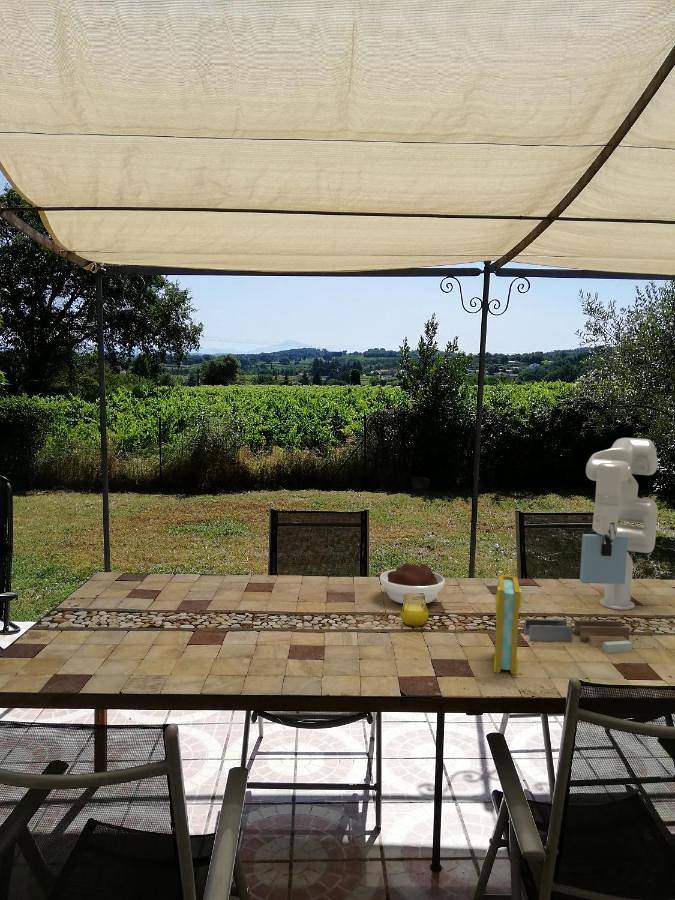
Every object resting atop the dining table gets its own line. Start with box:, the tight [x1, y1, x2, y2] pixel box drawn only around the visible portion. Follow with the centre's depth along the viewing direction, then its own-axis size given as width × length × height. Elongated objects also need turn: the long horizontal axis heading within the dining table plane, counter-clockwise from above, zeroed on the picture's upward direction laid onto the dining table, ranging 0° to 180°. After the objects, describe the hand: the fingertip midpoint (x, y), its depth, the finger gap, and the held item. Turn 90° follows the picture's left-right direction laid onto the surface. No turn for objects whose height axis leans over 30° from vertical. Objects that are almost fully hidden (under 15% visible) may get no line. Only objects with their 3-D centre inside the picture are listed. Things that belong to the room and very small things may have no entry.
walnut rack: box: [573, 619, 631, 643], centre depth 241 cm, size 7×16×5 cm, turn 91°
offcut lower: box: [586, 636, 628, 647], centre depth 235 cm, size 4×12×2 cm, turn 91°
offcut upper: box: [602, 640, 634, 654], centre depth 230 cm, size 3×9×2 cm
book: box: [493, 574, 522, 675], centre depth 217 cm, size 17×7×25 cm, turn 168°
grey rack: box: [523, 618, 574, 643], centre depth 240 cm, size 7×14×5 cm, turn 91°
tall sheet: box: [579, 533, 628, 585], centre depth 238 cm, size 3×14×16 cm, turn 91°
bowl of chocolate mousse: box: [379, 562, 446, 604], centre depth 275 cm, size 25×25×15 cm
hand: (603, 553), depth 238 cm, fingers closed on tall sheet, 3 cm apart
